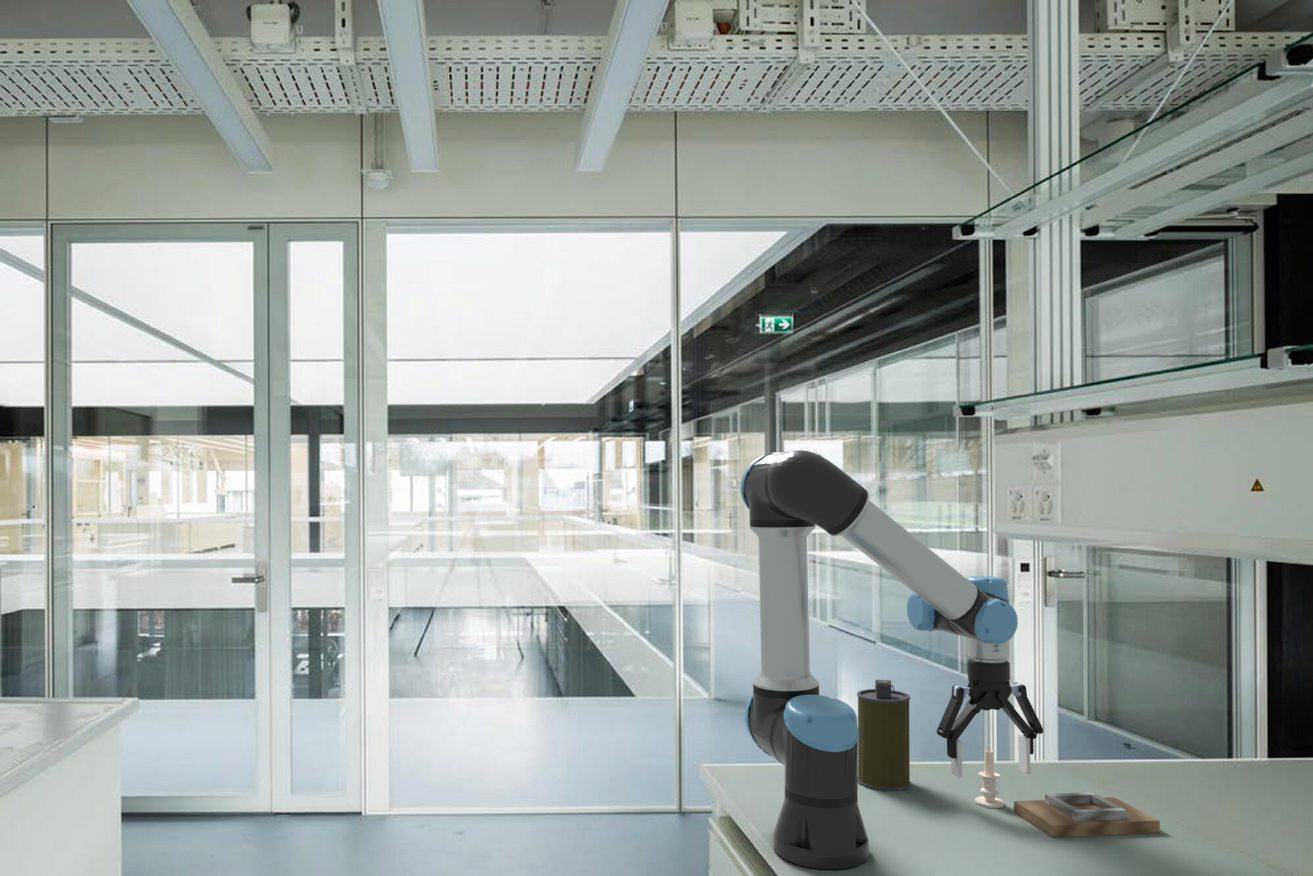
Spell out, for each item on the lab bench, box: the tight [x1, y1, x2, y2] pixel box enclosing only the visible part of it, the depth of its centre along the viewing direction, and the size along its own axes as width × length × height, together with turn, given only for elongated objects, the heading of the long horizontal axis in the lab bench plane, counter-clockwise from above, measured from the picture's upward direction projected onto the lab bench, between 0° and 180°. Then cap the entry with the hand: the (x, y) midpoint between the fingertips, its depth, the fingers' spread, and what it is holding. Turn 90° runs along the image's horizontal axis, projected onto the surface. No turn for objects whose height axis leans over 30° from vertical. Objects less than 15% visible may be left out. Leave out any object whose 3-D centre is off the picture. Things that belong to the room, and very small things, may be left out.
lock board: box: [1013, 791, 1161, 838], centre depth 160 cm, size 20×12×4 cm, turn 98°
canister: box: [856, 679, 912, 792], centre depth 181 cm, size 11×10×20 cm
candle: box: [974, 747, 1005, 809], centre depth 169 cm, size 5×5×10 cm
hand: (991, 773), depth 169 cm, fingers open, 13 cm apart
